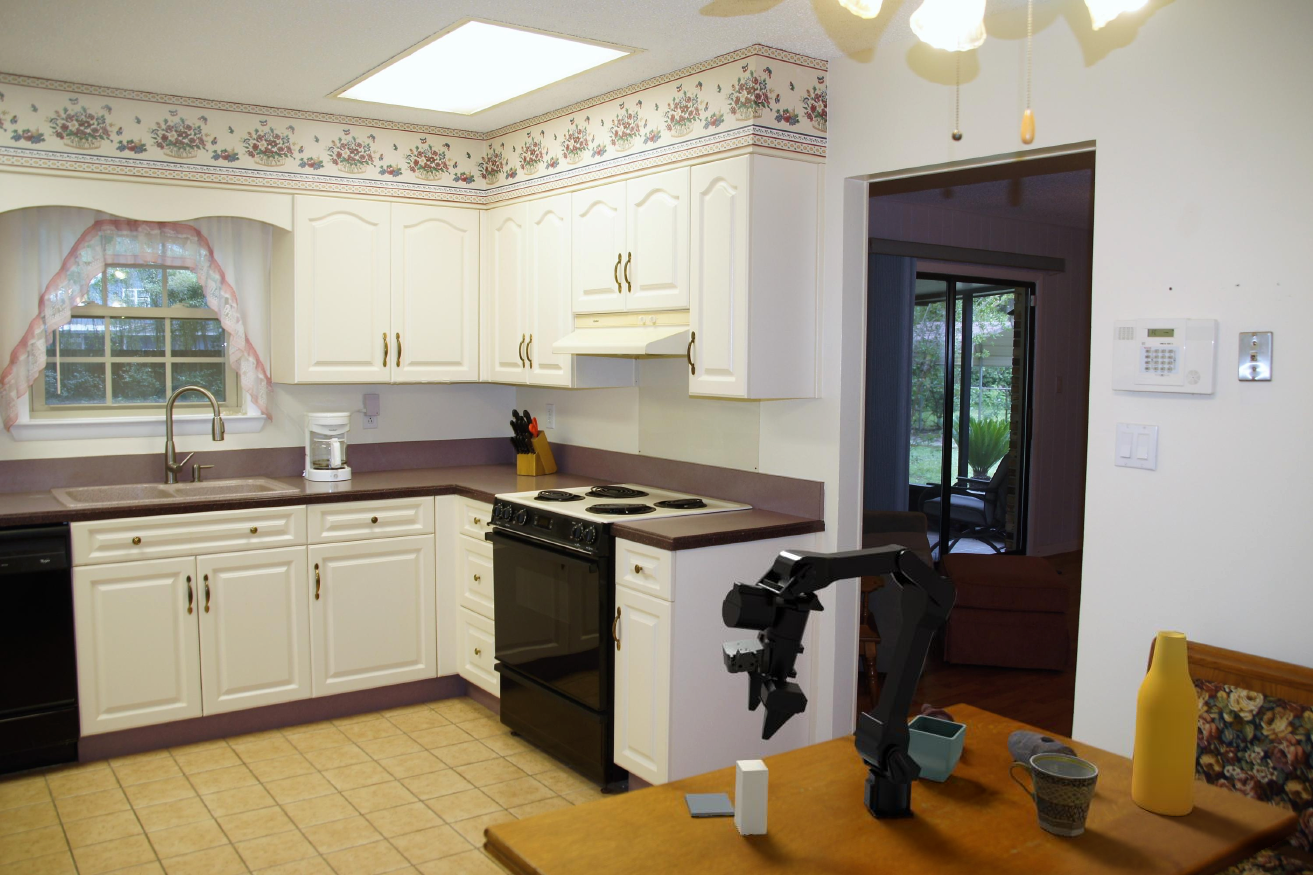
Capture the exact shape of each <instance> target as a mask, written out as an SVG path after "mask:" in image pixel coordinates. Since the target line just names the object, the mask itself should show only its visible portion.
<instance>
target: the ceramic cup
mask: <svg viewBox="0 0 1313 875" xmlns="http://www.w3.org/2000/svg"><path fill="white" fill-rule="evenodd" d="M1030 765H1031V766H1027V765H1026V764H1024V763H1022V762H1017V761H1016V762H1013V763H1012V764H1011V765H1010V767H1009V769H1008V770H1009V771H1008V772H1009V775H1010V777H1011V778H1012V779H1013V781H1014V782H1016V783H1017V784H1018V785H1020V787H1021V788H1023V790H1024V791H1025V793H1027V794H1028V795H1029V796H1030V798H1031V799H1032V801H1033V802H1034V805H1035V808H1036V809H1035V810H1036V814H1037V819H1038V820H1037V821H1038V827H1039V826H1041V827H1042V828H1041V827H1040V828H1041V829H1043V828H1044V829H1043V830H1045V829H1046V830H1045V831H1047V832H1048V831H1049V832H1048V833H1050V832H1051V833H1050V834H1052V833H1054V834H1053V835H1057V834H1059V836H1063V835H1064V837H1069V836H1072V837H1075V836H1079V835H1083V833H1084V831H1085V828H1086V827H1085V826H1086V823H1087V817H1088V814H1089V810H1090V806H1091V802H1092V799H1093V796H1094V793H1095V790H1096V786H1097V782H1098V776H1099V769H1098V767H1097V766H1096V765H1094V764H1092V763H1091V762H1089V761H1087V760H1085V759H1082V758H1079V757H1078V756H1077V757H1073V756H1069V755H1063V754H1055V753H1044V754H1038V755H1035V756H1033V757H1031V759H1030ZM1014 767H1018V768H1019V767H1020V768H1021V769H1023V770H1024V771H1025V772H1027V774H1028V776H1029V778H1030V779H1031V781H1032V787H1033V791H1030V790H1028V789H1027V787H1026V786H1025V784H1024V783H1022V782H1021V781H1020V780H1019V779H1018V778H1017V777H1016V776H1014V774H1013V773H1012V772H1013V771H1012V770H1013V768H1014Z"/></svg>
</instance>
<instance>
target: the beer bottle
mask: <svg viewBox="0 0 1313 875" xmlns="http://www.w3.org/2000/svg"><path fill="white" fill-rule="evenodd" d="M1156 634H1157V636H1156V638H1155V639H1156V640H1155V645H1154V652H1153V657H1152V662H1151V666H1150V669H1149V671H1148V672H1147V674H1146V676H1144V678H1143V680H1142V682H1141V684H1140V686H1139V689H1138V693H1137V697H1136V715H1135V716H1136V717H1135V718H1136V719H1135V728H1134V729H1135V731H1134V748H1133V768H1132V780H1131V798H1132V800H1133V802H1134V803H1135V804H1136V806H1138V807H1139V808H1142V809H1143V810H1146V811H1149V812H1151V813H1154V814H1158V815H1163V816H1170V817H1180V816H1186V815H1188V814H1190V813H1191V812H1192V810H1193V807H1194V801H1195V799H1194V798H1195V777H1196V776H1195V775H1196V761H1197V760H1196V759H1197V744H1198V743H1197V742H1198V727H1199V714H1200V704H1199V702H1200V701H1199V695H1198V693H1197V692H1198V691H1197V690H1196V687H1195V685H1194V683H1193V680H1192V679H1191V676H1190V672H1189V662H1188V660H1189V659H1188V645H1187V644H1188V643H1187V635H1186V634H1184V633H1181V632H1176V631H1171V630H1160V631H1157V633H1156Z"/></svg>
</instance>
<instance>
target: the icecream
mask: <svg viewBox="0 0 1313 875" xmlns="http://www.w3.org/2000/svg"><path fill="white" fill-rule="evenodd" d="M921 712H922V715H923V716H928V717H932V718H937V719H941V720H946V721H950V722H955V718H954V717H953V716H952V714H950V713H949V712H947V711H946V710H945V709H942V708H941V709H938V708H934V706H933V705H931V704H929V703H923V705H922V706H921Z"/></svg>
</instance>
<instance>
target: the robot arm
mask: <svg viewBox="0 0 1313 875" xmlns="http://www.w3.org/2000/svg"><path fill="white" fill-rule="evenodd" d="M887 574H890V575H891V577H892V578H893V581H895V583H896V584H897V585H898V586H900V587H901V595H900V610H901V614H902V625H901V628H900V632H899V634H898V638H897V641H896V644H895V648H894V652H893V654H892V657H891V661H890V663H889V666H888V669H887V673H886V676H885V680H884V682H883V687H882V690H881V692H880V696H879V699H878V702H877V705H876V706H875V707H874V709H872V710H871V711H870V712H869V713H866V712H864V711H861V713H860V714H859V716H858V723H857V727H856V728H855V730H854V732H853V733H852V736H854V742H853V744H854V748H855V749H856V751H857V754H859V756H860V757H861V761H862V763H863V765H864V766H867V767H868V772H867V775H868V777H866V778H865V780H864V797H863V804H865V806H866V807H867V809H868V810H869V811H870V812H871V814H872V815H873V816H874V817H875V818H876V819H890V818H893V819H894V818H896V819H897V818H914V817H915V813H914V811H913V810H912V809H911V808H912V784H913V783H912V782H917V781H918V780H919V778H920V777H919V775H920V772H921V767H920V766H919V765H918V764H917V763H916V762H915V761H914V760H913V758H912V757H911V756H910V755H909V754H908V749H909V743H910V732H909V726H908V724H909V722H908V715H909V713H910V712H909V711H910V710H911V706H912V702H913V700H914V696H915V692H916V689H917V685H918V683H919V679H920V677H921V673H922V670H923V667H924V664H925V660H926V657H927V654H928V651H929V649H930V648H929V647H930V644H931V641H932V637H933V635H934V632H935V631H936V630H937V629H938V628H939V627H940V626H941V625H943V623H944V622H945V621H946V620H947V619H948V617H949V615H950V613H951V611H952V609H953V607H954V605H955V602H956V601H957V595H958V594H957V593H958V592H957V588H956V587H955V585H954V582H952V580H951V579H949V578H948V577H946V576H942V575H941V574H940V573H939V572H938V571H937V570H935V569H934V568H932V566H930V565H929V564H927V563H926V562H925V561H923V560H922V559H921V558H920V557H919V556H918V554H916V553H915V552H914V551H913V550H912V549H911V548H910V547H905V546H902V545H898V544H894V543H893V544H892V543H891V544H888V545H885V546H879V547H878V546H877V547H871V548H861V549H855V550H853V549H852V550H846V551H836V552H825V553H824V552H816V551H810V550H802V549H790V548H789V549H785V550H782V551H781V552H779V553H778V555H777V556H776V558H775V560H774V561H773V564H772V566H770V567H769V568H768V570H767V571H766V572H765V573H764V574H763V575H762V576H761V577H760V578H759V579H758V580H757V581H756V583H755V584H748V583H747V584H746V583H745V582H742V581H741V582H740V581H734V582H733V585H732V589H731V590H729V591H728V592H727V594H726V596H725V598H724V599H723V601H722V606H721V618H722V620H723V621H722V622H723V623H724V626H725V627H727V628H730V629H739V630H749V631H757V632H758V634H757V637H756V638H742V639H735V640H730V641H725V642H722V656H723V665H725V668H726V671H727V672H728V673H730V674H738V673H747V675H748V678H747V680H748V681H747V682H748V683H747V684H748V687H747V688H748V689H747V690H748V691H747V709H748V711H750V712H756V710H757V709H758V707H759V706H760V704H762V706H763V707H764V713H763V720H762V729H761V736H760V737H761V739H762V740H763V741H764V740H765V741H770V739H771V738H772V737H773V736H774V735H775V734H776V733H777V732H778V731H779V730H780V729H781V728H782V727H783V726H784V725H785V724H786V723H787V722H788V721H789V720H790V719H792V718H793V716H795V715H798V714H799V715H800V714H802V713H804V712H806V708H807V705H808V701H809V700H808V698H807V697H806V695H805V693H804V692H803V690H802V688H801V686H800V685H799V684H798V683H797V682H791V681H788V680H787V678H790V679H796V678H797V675H798V672H797V670H796V669H795V665H796V662H797V658H798V655H799V654H801V655H803V654H804V650H805V647H804V645H803V644H802V641H803V637H804V634H805V631H806V628H807V625H808V621H809V616H810V614H811V611H815V612H824V611H825V607H824V605H823V604H822V603H821V601H820V599H819V595H818V594H817V593H815V592H816V591H820V590H823V589H826V588H828V587H829V586H830V585H831V584H833V583H835V582H838V581H841V580H842V581H843V580H850V579H856V578H864V577H871V576H879V575H887Z"/></svg>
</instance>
